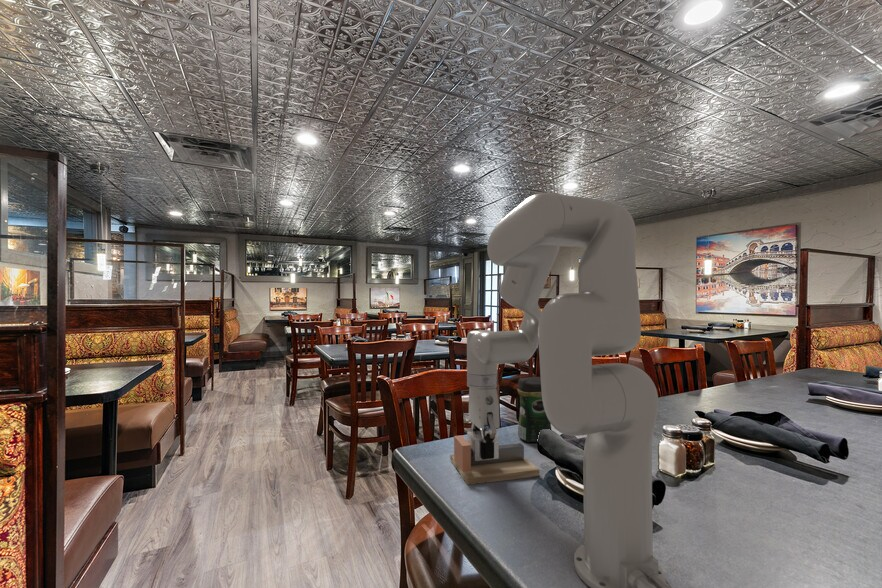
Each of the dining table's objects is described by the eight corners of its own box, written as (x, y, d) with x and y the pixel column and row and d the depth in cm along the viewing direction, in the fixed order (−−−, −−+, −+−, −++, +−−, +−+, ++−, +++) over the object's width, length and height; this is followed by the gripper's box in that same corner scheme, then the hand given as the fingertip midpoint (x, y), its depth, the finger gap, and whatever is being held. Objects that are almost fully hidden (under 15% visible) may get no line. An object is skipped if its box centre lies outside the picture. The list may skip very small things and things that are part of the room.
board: (539, 475, 92) (539, 469, 92) (467, 484, 87) (467, 478, 87) (513, 453, 105) (513, 448, 105) (450, 460, 101) (450, 454, 101)
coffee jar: (543, 433, 122) (542, 374, 122) (555, 442, 114) (555, 379, 114) (514, 435, 120) (513, 375, 120) (525, 444, 112) (524, 380, 112)
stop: (470, 470, 91) (470, 445, 91) (462, 471, 91) (462, 445, 91) (461, 459, 98) (461, 435, 98) (454, 460, 97) (454, 436, 98)
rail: (523, 460, 97) (523, 446, 97) (467, 466, 94) (467, 451, 94) (520, 457, 99) (520, 443, 99) (464, 463, 96) (464, 448, 96)
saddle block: (498, 458, 93) (498, 437, 94) (475, 461, 92) (475, 439, 92) (489, 449, 99) (489, 429, 99) (467, 451, 98) (467, 431, 98)
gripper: (510, 386, 89) (511, 465, 88) (484, 373, 105) (484, 440, 105) (479, 388, 87) (480, 469, 86) (457, 374, 104) (458, 442, 103)
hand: (482, 452), depth 96 cm, fingers closed on saddle block, 6 cm apart
